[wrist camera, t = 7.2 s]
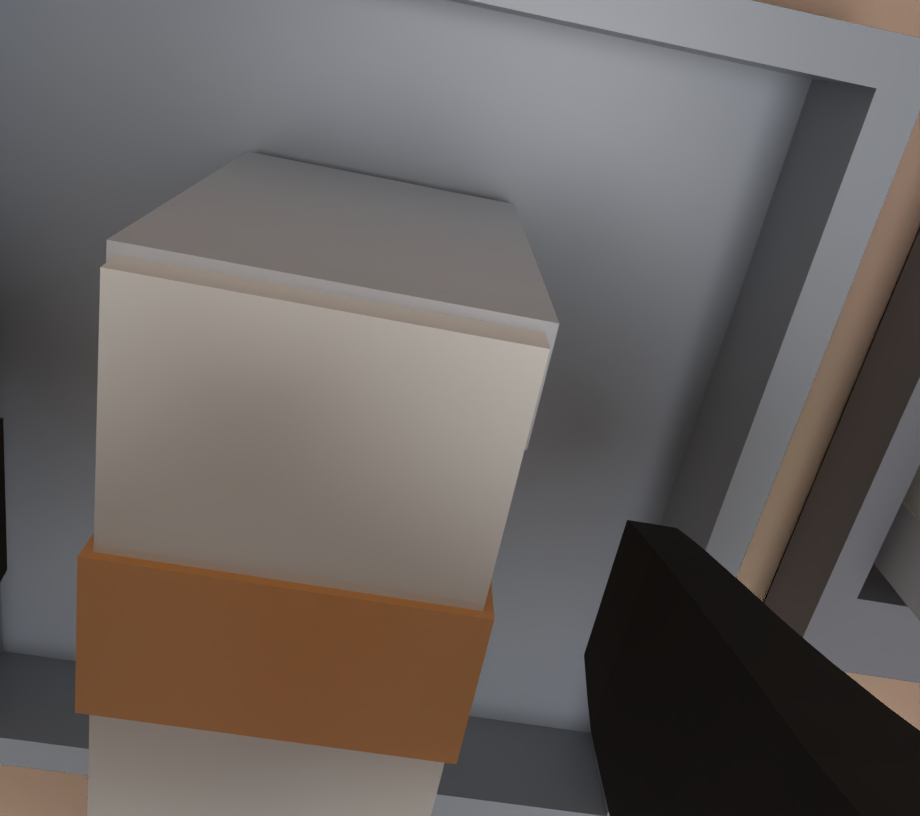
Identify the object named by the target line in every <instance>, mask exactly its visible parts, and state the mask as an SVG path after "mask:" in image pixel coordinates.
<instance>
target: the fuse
mask: <svg viewBox="0 0 920 816" xmlns="http://www.w3.org/2000/svg"><path fill="white" fill-rule="evenodd" d="M874 564H875V566H876V567H877V568H878V569H879V571H880V572H881V573H882V574H883V576H884V577H885V578H886V579H887V581H888V582H889V583H890V585H891V586H892V587H893V588H894V590H895V591H896V592H897V593H898V595H899V596H900V597H901V598H902V600H903V601H904V602H905V603H906V605H907V606H908V607H909V609H910V610H911V611H912V612H913V614H914V615H915V616H916V617H917V619H918V620H919V621H920V465H919V467H918V470H917V472H916V474H915V476H914V478H913V480H912V482H911V484H910V487H909V489H908V491H907V493H906V495H905V497H904V499H903V501H902V504H901V506H900V508H899V510H898V512H897V514H896V516H895V519H894V521H893V523H892V525H891V527H890V529H889V531H888V533H887V536H886V538H885V540H884V542H883V544H882V546H881V548H880V550H879V553H878V555H877V557H876V559H875V561H874Z"/></svg>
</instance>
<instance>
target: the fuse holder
mask: <svg viewBox="0 0 920 816" xmlns="http://www.w3.org/2000/svg"><path fill="white" fill-rule="evenodd" d="M919 465H920V230H919V233H918V235H917V237H916V240H915V242H914V245H913V247H912V249H911V252H910V254H909V257H908V259H907V261H906V264H905V266H904V269H903V271H902V273H901V276H900V278H899V281H898V283H897V285H896V288H895V290H894V293H893V295H892V297H891V300H890V302H889V305H888V307H887V309H886V312H885V314H884V317H883V319H882V321H881V324H880V326H879V329H878V331H877V333H876V336H875V338H874V341H873V343H872V345H871V348H870V350H869V353H868V355H867V357H866V360H865V362H864V365H863V367H862V369H861V372H860V374H859V377H858V379H857V381H856V384H855V386H854V389H853V391H852V393H851V396H850V398H849V401H848V403H847V405H846V408H845V410H844V413H843V415H842V417H841V420H840V422H839V425H838V427H837V429H836V432H835V434H834V437H833V439H832V441H831V444H830V446H829V449H828V451H827V453H826V456H825V458H824V461H823V463H822V465H821V468H820V470H819V473H818V475H817V477H816V480H815V482H814V485H813V487H812V489H811V492H810V494H809V497H808V499H807V501H806V504H805V506H804V509H803V511H802V513H801V516H800V518H799V521H798V523H797V525H796V528H795V530H794V533H793V535H792V537H791V540H790V542H789V545H788V547H787V549H786V552H785V554H784V557H783V559H782V561H781V564H780V566H779V569H778V571H777V573H776V576H775V578H774V581H773V583H772V585H771V588H770V590H769V593H768V595H767V597H766V600H765V602H764V604H765V605H766V606H768V607H769V608H770V609H771V610H772V611H773V612H774V613H775V614H777V615H778V616H779V617H780V618H781V619H782V620H783V621H784V622H786V623H787V624H788V625H789V626H790V627H791V628H792V629H793V630H795V631H796V632H797V633H798V634H799V635H800V636H801V637H803V638H804V639H805V640H806V641H807V642H808V643H810V644H811V645H812V646H813V647H814V648H816V649H817V650H818V651H819V652H820V653H821V654H823V655H824V656H825V657H826V658H827V659H828V660H830V661H831V662H832V663H833V664H834V665H836V666H837V667H838V668H839V669H841V670H842V671H843V672H850V673H856V674H863V675H870V676H876V677H883V678H890V679H896V680H903V681H910V682H916V683H920V621H919V620H918V619H917V617H916V616H915V615H914V614H913V612H912V611H911V610H910V609H909V607H908V606H907V605H906V603H905V602H904V601H903V600H902V598H901V597H900V596H899V595H898V593H897V592H896V591H895V590H894V588H893V587H892V586H891V585H890V583H889V582H888V581H887V579H886V578H885V577H884V576H883V574H882V573H881V572H880V571H879V569H878V568H877V567H876V566H875V564H874V561H875V559H876V557H877V555H878V553H879V550H880V548H881V546H882V544H883V542H884V540H885V538H886V536H887V533H888V531H889V529H890V527H891V525H892V523H893V521H894V519H895V516H896V514H897V512H898V510H899V508H900V506H901V504H902V501H903V499H904V497H905V495H906V493H907V491H908V489H909V487H910V484H911V482H912V480H913V478H914V476H915V474H916V472H917V470H918V467H919Z"/></svg>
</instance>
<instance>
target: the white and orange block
mask: <svg viewBox="0 0 920 816" xmlns="http://www.w3.org/2000/svg"><path fill="white" fill-rule="evenodd" d="M558 327H559V321H558V318H557V316H556V313H555V310H554V308H553V305H552V302H551V300H550V297H549V294H548V292H547V289H546V287H545V284H544V281H543V279H542V276H541V273H540V271H539V268H538V265H537V263H536V260H535V257H534V255H533V252H532V249H531V247H530V244H529V241H528V239H527V236H526V233H525V231H524V228H523V225H522V223H521V220H520V217H519V215H518V212H517V209H516V207H515V204H511V203H506V202H501V201H496V200H491V199H486V198H481V197H475V196H470V195H465V194H460V193H455V192H450V191H445V190H440V189H435V188H430V187H425V186H420V185H415V184H410V183H405V182H400V181H395V180H389V179H384V178H379V177H374V176H369V175H364V174H359V173H354V172H349V171H344V170H339V169H334V168H329V167H324V166H319V165H314V164H309V163H304V162H298V161H293V160H288V159H283V158H278V157H273V156H268V155H263V154H258V153H253V152H246V153H244V154H243V155H241V156H240V157H238V158H236V159H235V160H233V161H232V162H230V163H228V164H227V165H225V166H224V167H222V168H220V169H219V170H217V171H216V172H214V173H212V174H211V175H209V176H208V177H206V178H204V179H203V180H201V181H200V182H198V183H196V184H195V185H193V186H192V187H190V188H188V189H187V190H185V191H184V192H182V193H180V194H179V195H177V196H176V197H174V198H172V199H171V200H169V201H168V202H166V203H164V204H163V205H161V206H160V207H158V208H156V209H155V210H153V211H152V212H150V213H148V214H147V215H145V216H144V217H142V218H140V219H139V220H137V221H136V222H134V223H132V224H131V225H129V226H128V227H126V228H124V229H123V230H121V231H120V232H118V233H116V234H115V235H113V236H111V237H110V238H108V239H107V245H106V263H105V264H104V265H103V266H101V267H100V302H99V343H98V384H97V425H96V467H95V508H94V533H93V535H92V536H91V538H90V539H89V541H88V542H87V543H86V545H85V546H84V548H83V549H82V551H81V552H80V553H79V555H78V556H77V607H76V673H75V713H80V714H88V715H89V755H88V796H87V816H431V814H432V810H433V806H434V802H435V798H436V794H437V791H438V787H439V783H440V779H441V775H442V771H443V767H444V763H451V764H457V760H458V757H459V753H460V749H461V745H462V741H463V738H464V734H465V730H466V726H467V722H468V719H469V715H470V711H471V707H472V703H473V700H474V696H475V692H476V688H477V684H478V681H479V677H480V673H481V669H482V665H483V662H484V658H485V654H486V650H487V646H488V643H489V639H490V635H491V631H492V627H493V624H494V607H493V594H492V582H491V579H492V575H493V571H494V567H495V563H496V560H497V556H498V552H499V548H500V544H501V540H502V536H503V532H504V528H505V524H506V520H507V516H508V513H509V509H510V505H511V501H512V497H513V493H514V489H515V485H516V481H517V477H518V473H519V469H520V466H521V462H522V458H523V454H524V450H527V448H528V444H529V440H530V436H531V432H532V428H533V425H534V421H535V417H536V413H537V409H538V405H539V401H540V397H541V393H542V389H543V386H544V382H545V378H546V374H547V370H548V366H549V362H550V358H551V354H552V351H553V347H554V343H555V339H556V335H557V331H558Z"/></svg>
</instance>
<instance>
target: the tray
mask: <svg viewBox="0 0 920 816" xmlns="http://www.w3.org/2000/svg"><path fill="white" fill-rule="evenodd" d="M919 113H920V38H918V37H913V36H909V35H904V34H900V33H895V32H891V31H886V30H882V29H877V28H873V27H868V26H864V25H860V24H855V23H851V22H846V21H842V20H837V19H833V18H828V17H824V16H819V15H815V14H810V13H806V12H801V11H797V10H792V9H788V8H784V7H779V6H775V5H770V4H766V3H761V2H757V1H752V0H0V418H3V428H4V465H5V502H6V539H7V571H6V573H5V575H4V577H3V578H2V580H1V582H0V764H1V765H9V766H17V767H24V768H32V769H40V770H48V771H56V772H64V773H72V774H80V775H87V776H88V755H89V715H88V714H80V713H75V673H76V607H77V556H78V555H79V553H80V552H81V551H82V549H83V548H84V546H85V545H86V543H87V542H88V541H89V539H90V538H91V536H92V535H93V533H94V508H95V467H96V425H97V384H98V343H99V302H100V267H101V266H103V265H104V264H105V263H106V245H107V239H108V238H110V237H111V236H113V235H115V234H116V233H118V232H120V231H121V230H123V229H124V228H126V227H128V226H129V225H131V224H132V223H134V222H136V221H137V220H139V219H140V218H142V217H144V216H145V215H147V214H148V213H150V212H152V211H153V210H155V209H156V208H158V207H160V206H161V205H163V204H164V203H166V202H168V201H169V200H171V199H172V198H174V197H176V196H177V195H179V194H180V193H182V192H184V191H185V190H187V189H188V188H190V187H192V186H193V185H195V184H196V183H198V182H200V181H201V180H203V179H204V178H206V177H208V176H209V175H211V174H212V173H214V172H216V171H217V170H219V169H220V168H222V167H224V166H225V165H227V164H228V163H230V162H232V161H233V160H235V159H236V158H238V157H240V156H241V155H243V154H244V153H246V152H253V153H258V154H263V155H268V156H273V157H278V158H283V159H288V160H293V161H298V162H304V163H309V164H314V165H319V166H324V167H329V168H334V169H339V170H344V171H349V172H354V173H359V174H364V175H369V176H374V177H379V178H384V179H389V180H395V181H400V182H405V183H410V184H415V185H420V186H425V187H430V188H435V189H440V190H445V191H450V192H455V193H460V194H465V195H470V196H475V197H481V198H486V199H491V200H496V201H501V202H506V203H511V204H515V207H516V209H517V212H518V215H519V217H520V220H521V223H522V225H523V228H524V231H525V233H526V236H527V239H528V241H529V244H530V247H531V249H532V252H533V255H534V257H535V260H536V263H537V265H538V268H539V271H540V273H541V276H542V279H543V281H544V284H545V287H546V289H547V292H548V294H549V297H550V300H551V302H552V305H553V308H554V310H555V313H556V316H557V318H558V321H559V327H558V331H557V335H556V339H555V343H554V347H553V351H552V354H551V358H550V362H549V366H548V370H547V374H546V378H545V382H544V386H543V389H542V393H541V397H540V401H539V405H538V409H537V413H536V417H535V421H534V425H533V428H532V432H531V436H530V440H529V444H528V448H527V450H524V454H523V458H522V462H521V466H520V469H519V473H518V477H517V481H516V485H515V489H514V493H513V497H512V501H511V505H510V509H509V513H508V516H507V520H506V524H505V528H504V532H503V536H502V540H501V544H500V548H499V552H498V556H497V560H496V563H495V567H494V571H493V575H492V579H491V582H492V594H493V607H494V624H493V627H492V631H491V635H490V639H489V643H488V646H487V650H486V654H485V658H484V662H483V665H482V669H481V673H480V677H479V681H478V684H477V688H476V692H475V696H474V700H473V703H472V707H471V711H470V715H469V719H468V722H467V726H466V730H465V734H464V738H463V741H462V745H461V749H460V753H459V757H458V760H457V764H451V763H444V767H443V771H442V775H441V779H440V783H439V787H438V791H437V794H436V798H435V802H434V806H433V810H432V814H431V816H610V815H609V811H608V807H607V802H606V798H605V794H604V789H603V785H602V780H601V776H600V771H599V767H598V762H597V758H596V754H595V749H594V744H593V739H592V735H591V728H590V719H589V709H588V699H587V687H586V674H585V661H584V653H585V650H586V647H587V644H588V641H589V638H590V634H591V631H592V628H593V625H594V622H595V619H596V616H597V613H598V609H599V606H600V603H601V600H602V597H603V594H604V591H605V588H606V584H607V581H608V578H609V575H610V572H611V569H612V566H613V563H614V559H615V556H616V553H617V550H618V547H619V544H620V541H621V538H622V534H623V531H624V528H625V525H626V522H627V520H632V521H638V522H644V523H650V524H656V525H662V526H669V527H675V528H678V529H679V530H680V531H682V532H683V533H684V534H686V535H687V536H688V537H690V538H691V539H692V540H693V541H695V542H696V543H697V544H698V545H699V546H701V547H702V548H703V549H704V550H705V551H706V552H708V553H709V554H710V555H711V556H712V557H713V558H714V559H716V560H717V561H718V562H719V563H720V564H721V565H722V566H723V567H724V568H726V569H727V570H728V571H729V572H730V573H731V574H732V575H733V576H734V577H737V574H738V572H739V569H740V566H741V564H742V561H743V559H744V556H745V554H746V551H747V549H748V546H749V544H750V541H751V539H752V536H753V533H754V531H755V528H756V526H757V523H758V521H759V518H760V516H761V513H762V511H763V508H764V506H765V503H766V501H767V498H768V495H769V493H770V490H771V488H772V485H773V483H774V480H775V478H776V475H777V473H778V470H779V468H780V465H781V462H782V460H783V457H784V455H785V452H786V450H787V447H788V445H789V442H790V440H791V437H792V435H793V432H794V430H795V427H796V424H797V422H798V419H799V417H800V414H801V412H802V409H803V407H804V404H805V402H806V399H807V397H808V394H809V391H810V389H811V386H812V384H813V381H814V379H815V376H816V374H817V371H818V369H819V366H820V364H821V361H822V359H823V356H824V353H825V351H826V348H827V346H828V343H829V341H830V338H831V336H832V333H833V331H834V328H835V326H836V323H837V320H838V318H839V315H840V313H841V310H842V308H843V305H844V303H845V300H846V298H847V295H848V293H849V290H850V287H851V285H852V282H853V280H854V277H855V275H856V272H857V270H858V267H859V265H860V262H861V260H862V257H863V255H864V252H865V249H866V247H867V244H868V242H869V239H870V237H871V234H872V232H873V229H874V227H875V224H876V222H877V219H878V216H879V214H880V211H881V209H882V206H883V204H884V201H885V199H886V196H887V194H888V191H889V189H890V186H891V184H892V181H893V178H894V176H895V173H896V171H897V168H898V166H899V163H900V161H901V158H902V156H903V153H904V151H905V148H906V145H907V143H908V140H909V138H910V135H911V133H912V130H913V128H914V125H915V123H916V120H917V118H918V115H919Z"/></svg>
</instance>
